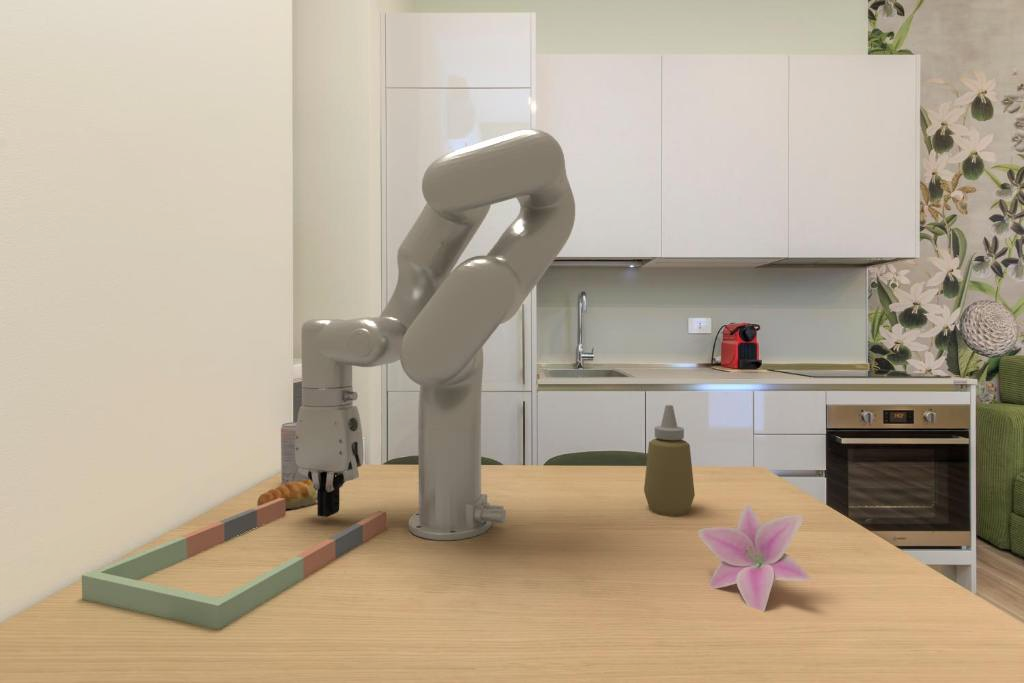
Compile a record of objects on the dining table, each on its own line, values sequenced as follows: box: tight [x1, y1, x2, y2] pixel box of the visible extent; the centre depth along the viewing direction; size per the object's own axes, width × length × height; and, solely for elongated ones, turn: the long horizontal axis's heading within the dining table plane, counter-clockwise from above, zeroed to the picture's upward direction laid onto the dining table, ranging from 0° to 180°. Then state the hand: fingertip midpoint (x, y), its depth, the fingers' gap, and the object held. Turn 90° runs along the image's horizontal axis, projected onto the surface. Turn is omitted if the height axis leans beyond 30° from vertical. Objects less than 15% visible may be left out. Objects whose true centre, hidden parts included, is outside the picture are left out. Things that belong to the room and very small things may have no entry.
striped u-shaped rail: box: [81, 498, 387, 631], centre depth 73 cm, size 20×30×3 cm
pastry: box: [256, 479, 317, 510], centre depth 95 cm, size 9×7×4 cm
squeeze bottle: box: [643, 404, 696, 517], centre depth 90 cm, size 8×8×18 cm
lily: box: [697, 503, 811, 612], centre depth 63 cm, size 12×12×10 cm
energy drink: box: [280, 421, 309, 485], centre depth 109 cm, size 5×5×12 cm
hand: (328, 513), depth 87 cm, fingers closed
